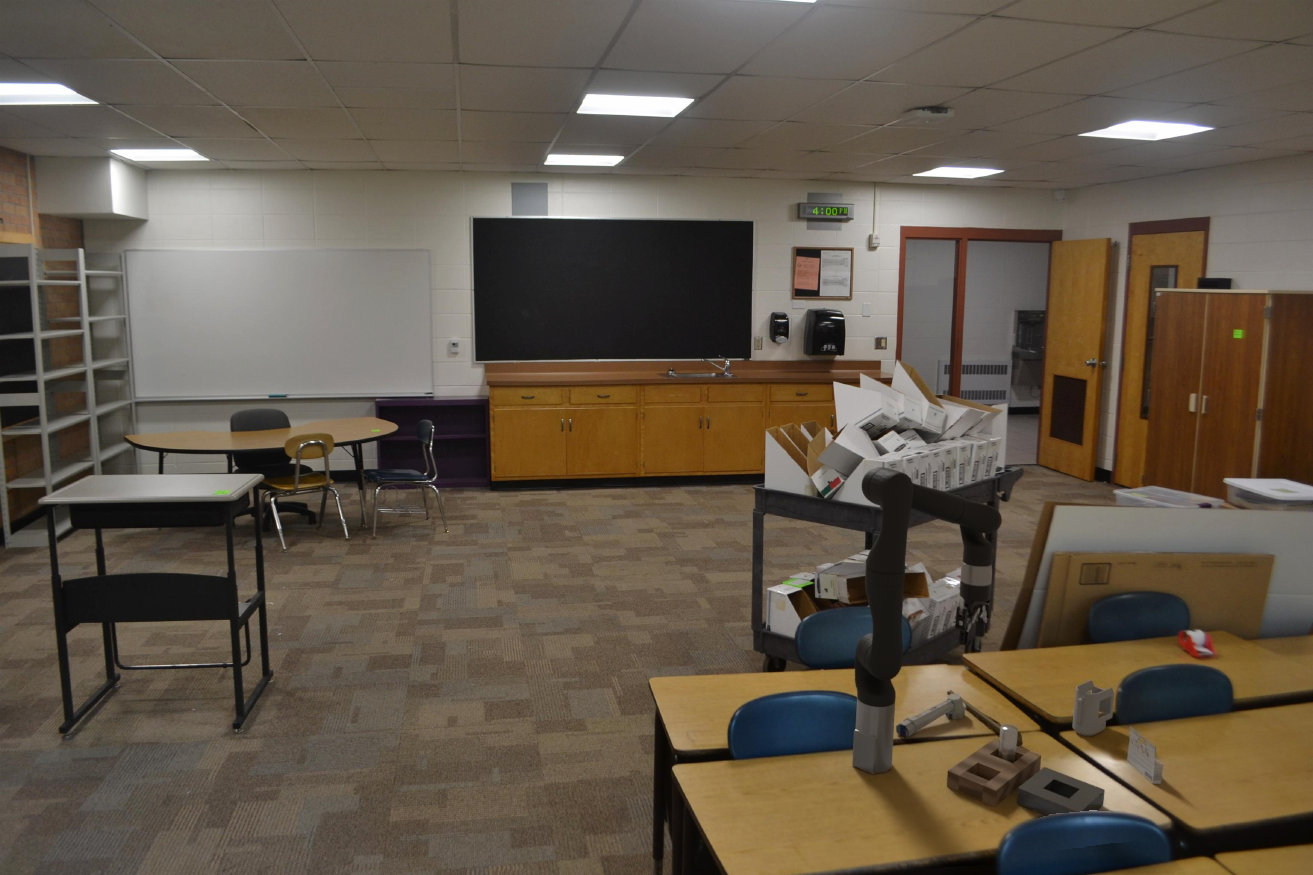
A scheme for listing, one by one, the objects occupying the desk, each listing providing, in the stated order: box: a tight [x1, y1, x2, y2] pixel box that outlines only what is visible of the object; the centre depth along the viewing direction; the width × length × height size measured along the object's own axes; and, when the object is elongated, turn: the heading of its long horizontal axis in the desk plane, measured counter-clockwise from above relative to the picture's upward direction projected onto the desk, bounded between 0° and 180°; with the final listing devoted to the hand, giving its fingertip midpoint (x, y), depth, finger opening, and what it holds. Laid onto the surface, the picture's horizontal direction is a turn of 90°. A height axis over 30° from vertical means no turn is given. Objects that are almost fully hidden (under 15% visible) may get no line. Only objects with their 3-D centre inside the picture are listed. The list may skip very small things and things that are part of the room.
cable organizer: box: [1071, 679, 1115, 737], centre depth 249 cm, size 7×13×12 cm, turn 125°
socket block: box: [1016, 766, 1105, 816], centre depth 213 cm, size 14×14×4 cm
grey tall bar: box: [998, 723, 1019, 763], centre depth 228 cm, size 4×4×11 cm
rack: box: [946, 737, 1042, 807], centre depth 224 cm, size 24×12×4 cm, turn 134°
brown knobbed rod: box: [946, 689, 1024, 748], centre depth 254 cm, size 5×35×5 cm
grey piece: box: [895, 692, 967, 739], centre depth 252 cm, size 5×7×25 cm
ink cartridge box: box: [1126, 726, 1164, 785], centre depth 227 cm, size 2×11×10 cm, turn 4°
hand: (971, 640), depth 238 cm, fingers open, 8 cm apart
